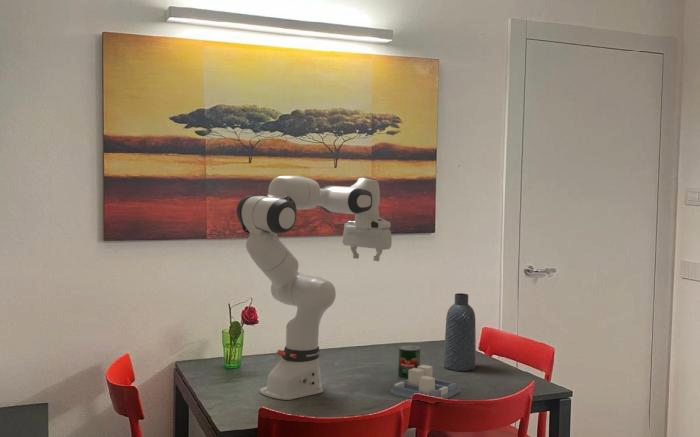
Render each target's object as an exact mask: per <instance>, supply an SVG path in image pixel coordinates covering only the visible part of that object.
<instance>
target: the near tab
mask: <svg viewBox="0 0 700 437" xmlns="http://www.w3.org/2000/svg"><path fill="white" fill-rule="evenodd" d="M435 379H436V377H433V376H432V377H430V376H422V377H419V392H423V393H427V394H430V392H433V391H435Z"/></svg>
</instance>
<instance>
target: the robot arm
mask: <svg viewBox="0 0 700 437" xmlns="http://www.w3.org/2000/svg"><path fill="white" fill-rule="evenodd" d="M267 192H268V193H267V195H266V196H264V195H255V194H253V195H247V196H244V197H243V198H241V199H240V200H239V202H238V204H237V207H236V216H237V219H238V222H239V223H240V225H241V227H242V230H243V232H245V233H247V234H249V236H248V238H247V239H246V242H245V247H246V251H247V253H248V254H249V256H250V258H251V259H252V261H253V262H254V263H255V265H256V266H257V267H258V268H259V269H260V270H261V272H262V273H263V274H264V275H265V276H266V277H267V279H269V280H270V282H271V285H270V286H271V287H270V292H271V295H272V297H273V298H274V300H276V301H278V302H280V303H282V304H284V305H288V306H292V307H297V308H296V309H297V310H296V313H295V315H294V316H295V317H294V318H292V319H290V320H289V321H288V322H287V324H286V328H285V331H286V332H285V339H286V340H285V346H284V349H283V350H282V349H278V350H277V351H276V355H277V356H279V357H281V360H279V362H277V364H276V365H275V367H273V369H272V370H271V371H270V372H269V374H268V375H267V380H266V386H263V387H261V388H259V393H260V394H261V395H263V396H266V397H268V398H269V397H270V398H273V399H275V400H276V399H277V400H284V401H285V400H286V401H288V400H289V401H290V400H295V399H299V398H303V397H308V396H312V395H317V394H321V393H324V388H323V385H322V384H323V383H322V376H321V375H322V374H321V367H320V363H319V358H320V353H321V352H320V346H319V336H320V335H319V334H320V333H319V332H320V331H319V330H320V324H321V321H322V317H323V316H324V314H325V312H326V311H327V310H328V309H329V308H331V306H332V305H333V304H334V303H335V299H336V294H337V293H336V288H335V286H334V284H333V283H332V281H331V282H330V281H329V280H327V279H325V278H321V277H319V276H312V275H307V274H304V273H301V272H299V261H298V259H297V258H296V257H295V256H294V254H293V253H292V252H291V251H290V250H289V249H288V247H287V246H286V245H285V244H284V243H283V242H282V241H281V240H280V238H279V236H278V234H286V233H288V232H290V231H291V230H292V229H293V228H294V226H295V223H296V221H297V210H300V211H301V210H306V211H307V210H314V209H315V208H316V207H320V208H321V210H323V211H324V212H326V213H330V214H336V213H337V214H346V215H347V214H349V215H354V220H347V221H346V222H345V223H344V226H343V228H344V229H343V234H342V244H343V246H348V247H349V246H350V251H351V253H352V258H353V259H355V260H357V259H360V253H358V251H357V249H358V248H365V249H366V248H367V249H375V252H376V253H375V255H374V256H373V260H372V261H374V262H380V256H381V255H382V253H383V250H390V248H392V242H393V241H392V231H391V229H390V228H391V225H392V223H391V222H390V221H388V220H386V219H384V218H381V217H380V211H379V207H380V203H381V202H380V201H381V196H380V195H381V192H380V184H379V182H378V180H377V179H375V178H372V177H371V178H370V177H363V176H362V177H359V178H357V181H356V182H354V184H352V185H350V186H341V185H340V186H339V185H332V184H331V185H326V186H324V187H321V186H320V184H319V183H318V182H317V181H316V180H314V179H311V178H309V177H306V176H301V175H279V176H276V177H274V178H273V179H272V180H271V182H270V183H269V185H268V189H267Z"/></svg>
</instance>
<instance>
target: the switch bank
mask: <svg viewBox="0 0 700 437" xmlns="http://www.w3.org/2000/svg"><path fill="white" fill-rule="evenodd" d="M458 385H459V384H458V383H456V382H451V381H446V380H442V379H437V378H435V391H433V392H430V394H427V393H423V392H419V386H418V385H414V384H410V383H408V380H405V379H404V380H403V381H399V382H398V383H397V382H396V383H394V385H393V386H392V389H390V394H391V395H394V396H399V397H403V398H406V399H410V398H411V396H412V395H413V394H414V393H421V394H425V395H429V396H435V397H442V398H446V399H449V398H451V397H453V396H455V395H458V394H460V393H461V388H458V387H459V386H458Z"/></svg>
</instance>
